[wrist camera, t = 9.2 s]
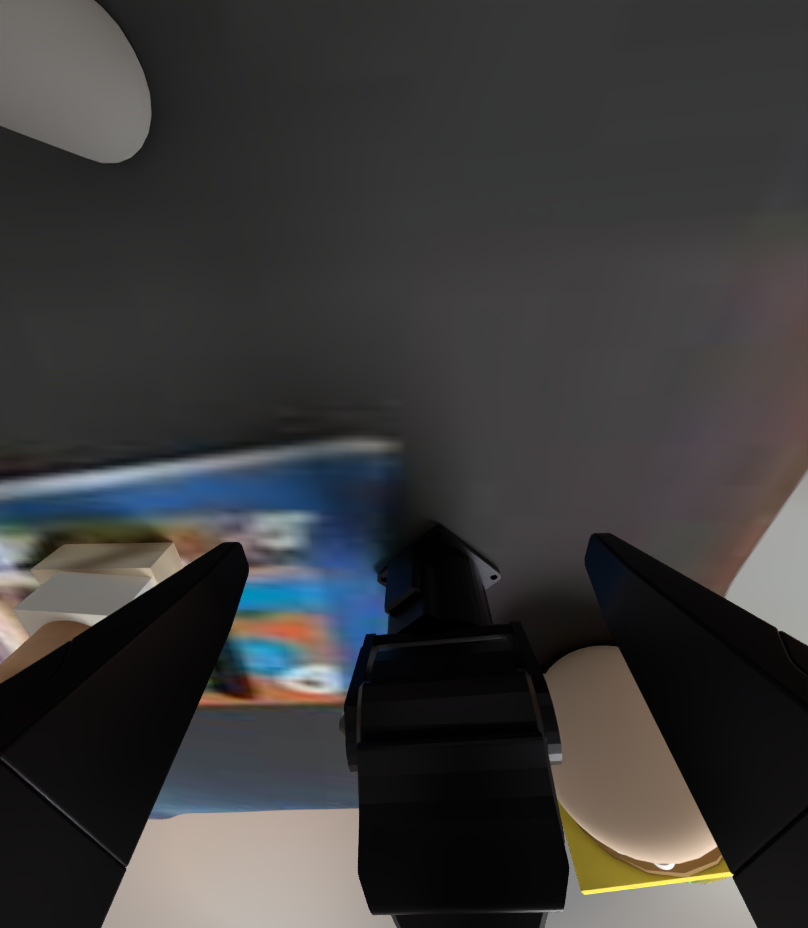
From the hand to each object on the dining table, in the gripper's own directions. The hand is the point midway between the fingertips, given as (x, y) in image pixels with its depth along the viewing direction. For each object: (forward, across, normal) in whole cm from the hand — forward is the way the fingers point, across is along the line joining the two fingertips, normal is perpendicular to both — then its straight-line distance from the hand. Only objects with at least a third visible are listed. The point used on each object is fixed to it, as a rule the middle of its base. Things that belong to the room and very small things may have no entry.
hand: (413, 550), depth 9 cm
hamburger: (+12, -14, +23) cm, 30 cm away
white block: (+10, +21, +13) cm, 26 cm away
